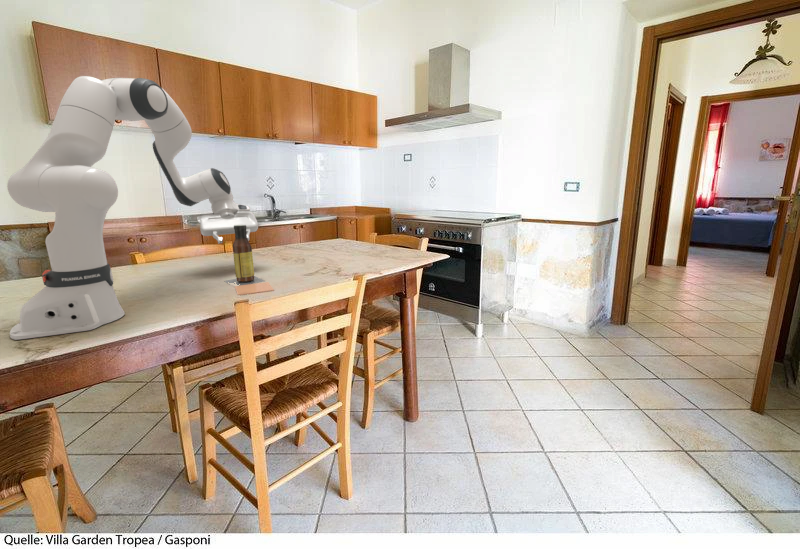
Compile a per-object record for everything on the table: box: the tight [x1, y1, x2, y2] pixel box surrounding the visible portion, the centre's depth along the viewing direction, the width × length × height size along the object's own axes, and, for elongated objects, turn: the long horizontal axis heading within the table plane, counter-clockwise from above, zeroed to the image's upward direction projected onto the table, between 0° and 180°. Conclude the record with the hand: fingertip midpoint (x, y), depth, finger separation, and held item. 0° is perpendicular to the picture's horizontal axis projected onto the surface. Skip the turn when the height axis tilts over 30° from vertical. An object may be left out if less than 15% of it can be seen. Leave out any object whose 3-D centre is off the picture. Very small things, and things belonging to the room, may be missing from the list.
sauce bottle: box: [232, 225, 255, 282], centre depth 137 cm, size 6×6×20 cm
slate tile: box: [223, 275, 265, 286], centre depth 140 cm, size 11×11×1 cm
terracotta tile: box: [234, 281, 275, 296], centre depth 129 cm, size 11×11×1 cm
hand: (234, 241), depth 145 cm, fingers open, 8 cm apart
